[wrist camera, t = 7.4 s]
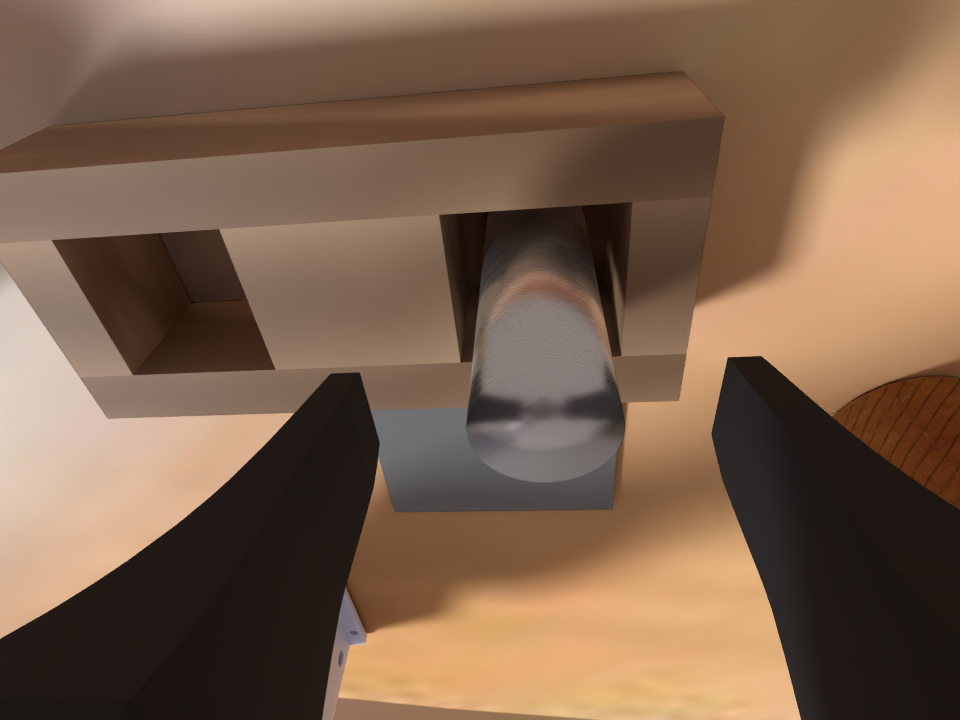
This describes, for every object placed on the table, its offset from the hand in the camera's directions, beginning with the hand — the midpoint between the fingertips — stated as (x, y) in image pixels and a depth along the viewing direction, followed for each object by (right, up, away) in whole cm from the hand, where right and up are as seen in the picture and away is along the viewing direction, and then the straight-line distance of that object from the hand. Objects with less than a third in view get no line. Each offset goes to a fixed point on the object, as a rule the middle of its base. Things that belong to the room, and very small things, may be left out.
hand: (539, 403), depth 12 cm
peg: (+1, +5, +6) cm, 8 cm away
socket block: (-4, +5, +7) cm, 10 cm away
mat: (-1, -2, +12) cm, 13 cm away
